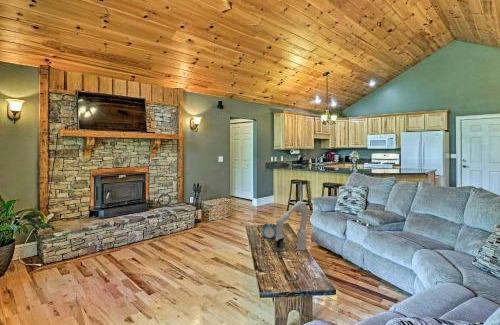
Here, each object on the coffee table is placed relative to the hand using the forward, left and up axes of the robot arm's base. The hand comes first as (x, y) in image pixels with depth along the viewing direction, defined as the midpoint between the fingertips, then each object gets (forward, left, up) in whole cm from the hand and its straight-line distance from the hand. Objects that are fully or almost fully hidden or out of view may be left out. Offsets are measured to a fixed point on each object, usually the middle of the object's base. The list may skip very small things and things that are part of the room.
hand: (279, 246), depth 262 cm
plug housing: (0, -2, -1) cm, 2 cm away
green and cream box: (0, 0, -3) cm, 3 cm away
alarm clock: (-27, -23, -3) cm, 36 cm away
